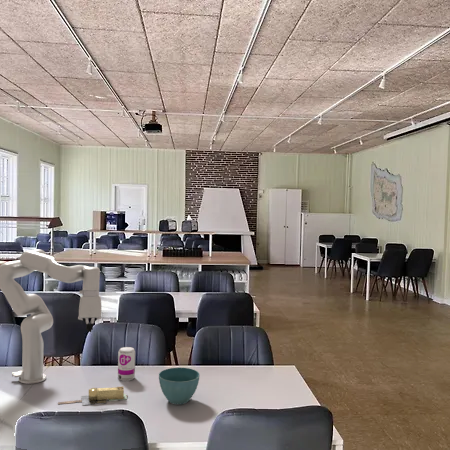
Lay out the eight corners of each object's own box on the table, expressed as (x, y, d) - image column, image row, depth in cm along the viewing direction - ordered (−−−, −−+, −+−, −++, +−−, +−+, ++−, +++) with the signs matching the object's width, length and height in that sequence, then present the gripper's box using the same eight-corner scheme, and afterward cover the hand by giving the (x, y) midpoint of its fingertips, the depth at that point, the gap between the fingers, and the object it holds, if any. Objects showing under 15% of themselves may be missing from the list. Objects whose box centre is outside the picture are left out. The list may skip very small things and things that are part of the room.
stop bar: (88, 400, 217) (88, 391, 216) (88, 397, 221) (88, 388, 221) (123, 398, 220) (123, 390, 220) (123, 395, 224) (123, 386, 224)
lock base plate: (82, 405, 213) (82, 405, 213) (81, 396, 222) (81, 396, 222) (106, 403, 216) (106, 402, 216) (103, 394, 226) (103, 393, 226)
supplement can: (130, 382, 242) (131, 352, 242) (115, 380, 244) (115, 350, 243) (137, 376, 250) (137, 347, 250) (121, 374, 252) (122, 345, 251)
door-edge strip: (58, 404, 213) (58, 404, 213) (57, 402, 215) (57, 402, 215) (127, 397, 224) (127, 396, 224) (127, 395, 225) (127, 395, 225)
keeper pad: (109, 401, 219) (109, 400, 219) (107, 395, 224) (107, 395, 224) (127, 399, 221) (127, 398, 221) (125, 394, 227) (125, 393, 227)
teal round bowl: (182, 413, 209) (183, 384, 208) (149, 402, 219) (150, 375, 218) (206, 399, 224) (207, 372, 224) (174, 390, 234) (175, 364, 233)
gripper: (74, 294, 226) (73, 334, 227) (107, 294, 232) (106, 333, 232) (73, 291, 234) (72, 330, 234) (106, 291, 239) (104, 328, 240)
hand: (89, 331), depth 233 cm, fingers closed
